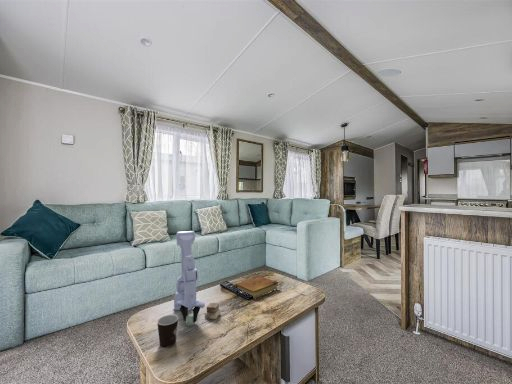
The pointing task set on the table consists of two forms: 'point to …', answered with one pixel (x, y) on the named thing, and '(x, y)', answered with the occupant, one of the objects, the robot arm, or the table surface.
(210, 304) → the walnut top block
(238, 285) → the diary
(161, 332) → the coffee mug
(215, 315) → the oak base block
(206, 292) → the table surface
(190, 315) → the pale green short cylinder
